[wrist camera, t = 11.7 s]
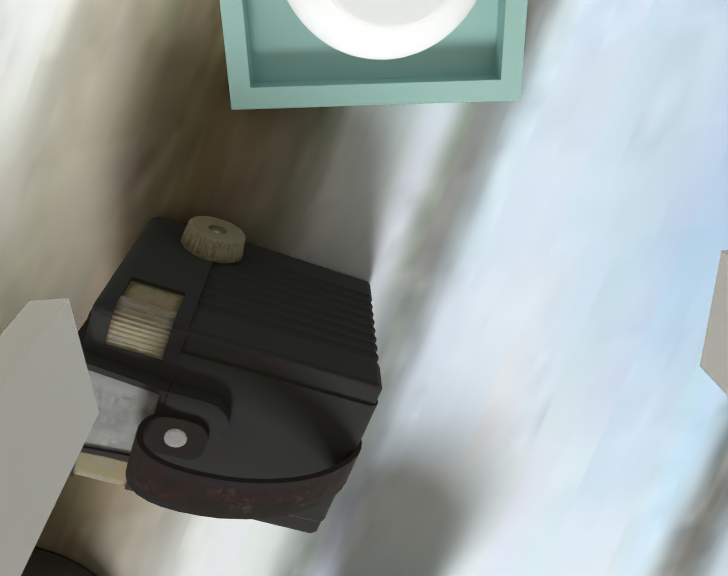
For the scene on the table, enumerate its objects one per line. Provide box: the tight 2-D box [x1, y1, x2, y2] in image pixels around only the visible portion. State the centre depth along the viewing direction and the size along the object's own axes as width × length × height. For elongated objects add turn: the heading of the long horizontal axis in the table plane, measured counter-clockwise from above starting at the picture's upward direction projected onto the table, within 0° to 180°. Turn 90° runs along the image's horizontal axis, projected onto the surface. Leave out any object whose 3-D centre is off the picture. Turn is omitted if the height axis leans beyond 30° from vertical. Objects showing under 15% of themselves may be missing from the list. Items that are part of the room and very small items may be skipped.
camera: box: [69, 216, 382, 533], centre depth 34 cm, size 11×14×15 cm
